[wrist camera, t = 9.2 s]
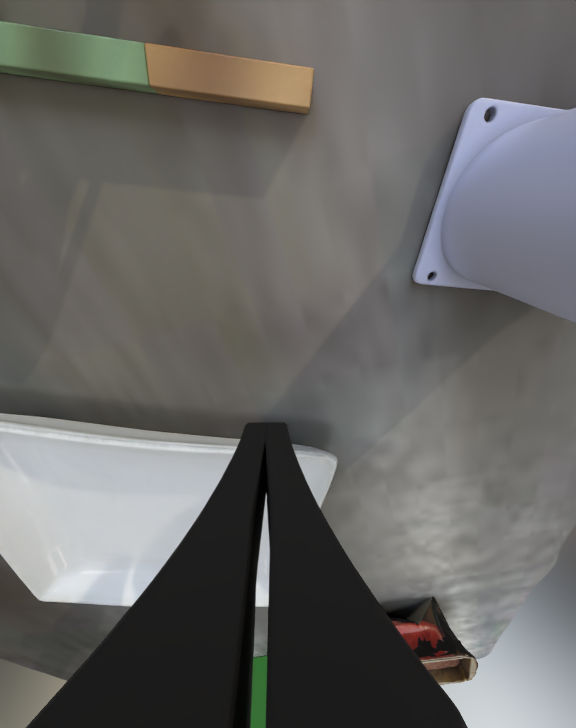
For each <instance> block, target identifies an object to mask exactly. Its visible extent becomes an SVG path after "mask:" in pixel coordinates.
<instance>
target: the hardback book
mask: <svg viewBox="0 0 576 728" xmlns="http://www.w3.org/2000/svg"><path fill="white" fill-rule="evenodd" d="M266 689H267V656H262V657H254V658H253V677H252V704H251V728H266Z"/></svg>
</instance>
